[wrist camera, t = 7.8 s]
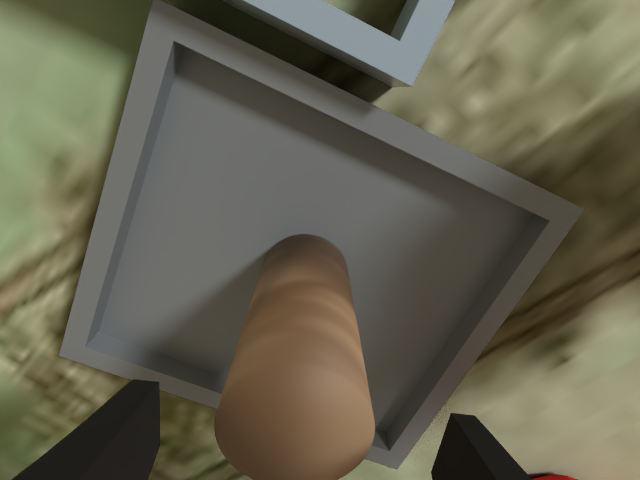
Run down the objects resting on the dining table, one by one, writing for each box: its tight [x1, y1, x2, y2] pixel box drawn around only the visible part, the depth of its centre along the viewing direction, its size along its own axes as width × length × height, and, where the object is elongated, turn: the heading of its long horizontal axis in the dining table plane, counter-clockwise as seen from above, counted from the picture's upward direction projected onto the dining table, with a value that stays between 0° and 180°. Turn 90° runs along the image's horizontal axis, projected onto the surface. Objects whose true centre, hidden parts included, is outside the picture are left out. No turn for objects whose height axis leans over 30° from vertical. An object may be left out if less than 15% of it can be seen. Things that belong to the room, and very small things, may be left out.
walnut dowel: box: [214, 234, 375, 480], centre depth 14 cm, size 4×4×9 cm
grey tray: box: [59, 0, 585, 469], centre depth 18 cm, size 18×16×2 cm
